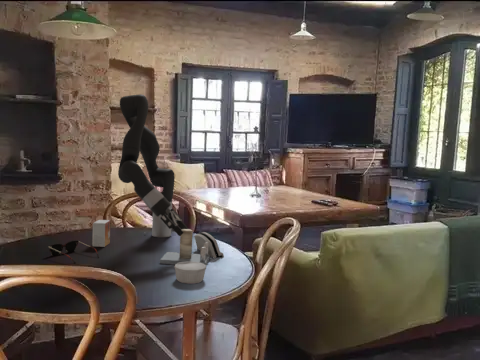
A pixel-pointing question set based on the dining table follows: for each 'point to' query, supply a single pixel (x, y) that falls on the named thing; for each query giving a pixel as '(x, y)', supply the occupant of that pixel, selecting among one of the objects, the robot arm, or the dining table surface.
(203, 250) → the pad
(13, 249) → the dining table surface
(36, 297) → the dining table surface
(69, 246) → the sunglasses
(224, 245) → the dining table surface
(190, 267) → the ramekin
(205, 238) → the grey half-round upright piece
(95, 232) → the small box
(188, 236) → the birch pin
